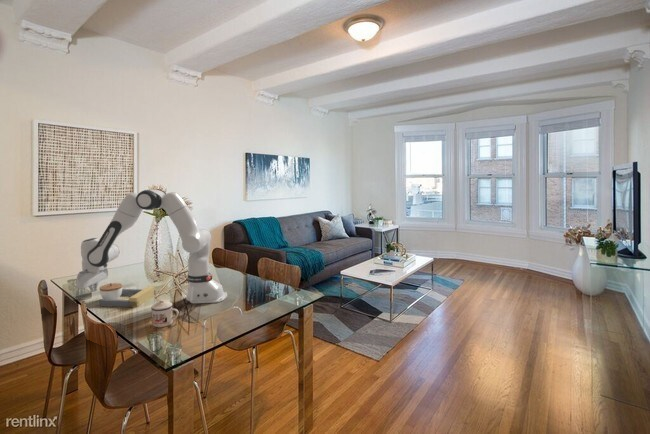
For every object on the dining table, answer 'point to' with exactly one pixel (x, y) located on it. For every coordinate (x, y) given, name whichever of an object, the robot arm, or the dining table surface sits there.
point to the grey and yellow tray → (134, 300)
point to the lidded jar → (111, 291)
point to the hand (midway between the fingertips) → (93, 291)
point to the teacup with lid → (163, 313)
